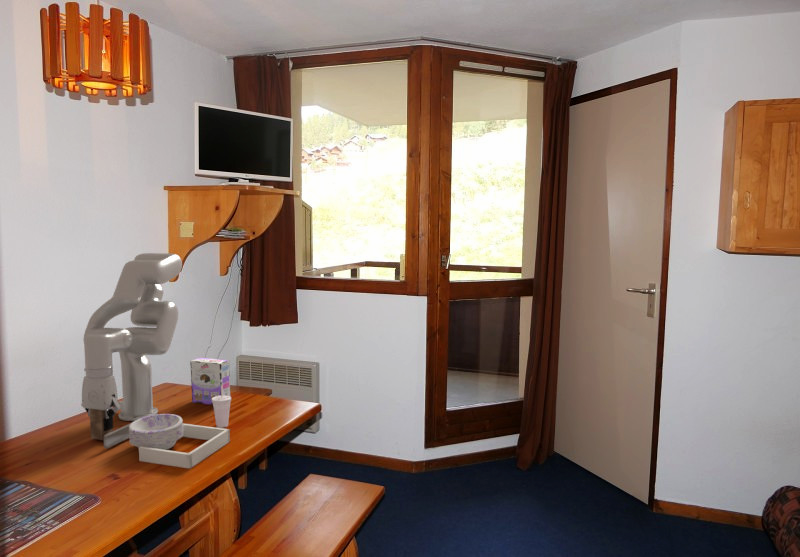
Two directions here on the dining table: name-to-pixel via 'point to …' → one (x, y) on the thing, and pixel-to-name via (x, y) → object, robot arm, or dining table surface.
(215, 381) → the candy box
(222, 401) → the smoothie
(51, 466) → the dining table surface
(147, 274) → the robot arm
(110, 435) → the scraper
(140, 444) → the paper bowls
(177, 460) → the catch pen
